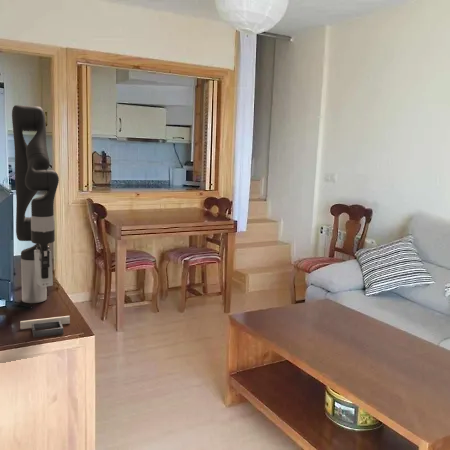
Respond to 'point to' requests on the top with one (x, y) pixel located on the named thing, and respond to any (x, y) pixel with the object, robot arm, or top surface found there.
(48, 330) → the frame
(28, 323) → the door edge rail
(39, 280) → the skincare box
